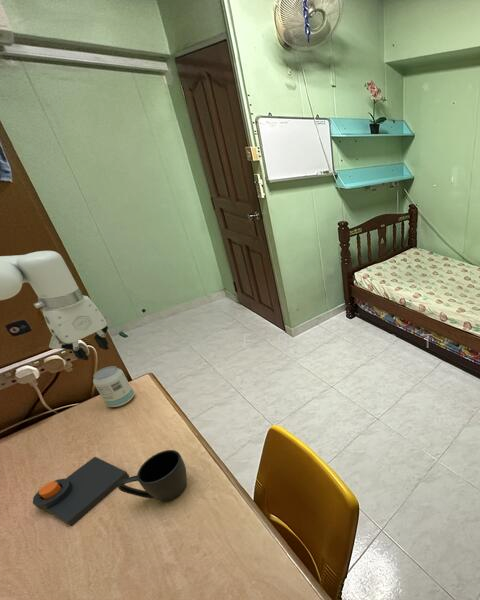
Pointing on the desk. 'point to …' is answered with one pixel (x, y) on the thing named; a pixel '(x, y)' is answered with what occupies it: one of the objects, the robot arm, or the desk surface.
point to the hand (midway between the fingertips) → (94, 353)
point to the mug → (159, 477)
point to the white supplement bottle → (113, 386)
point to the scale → (82, 490)
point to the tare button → (49, 490)
